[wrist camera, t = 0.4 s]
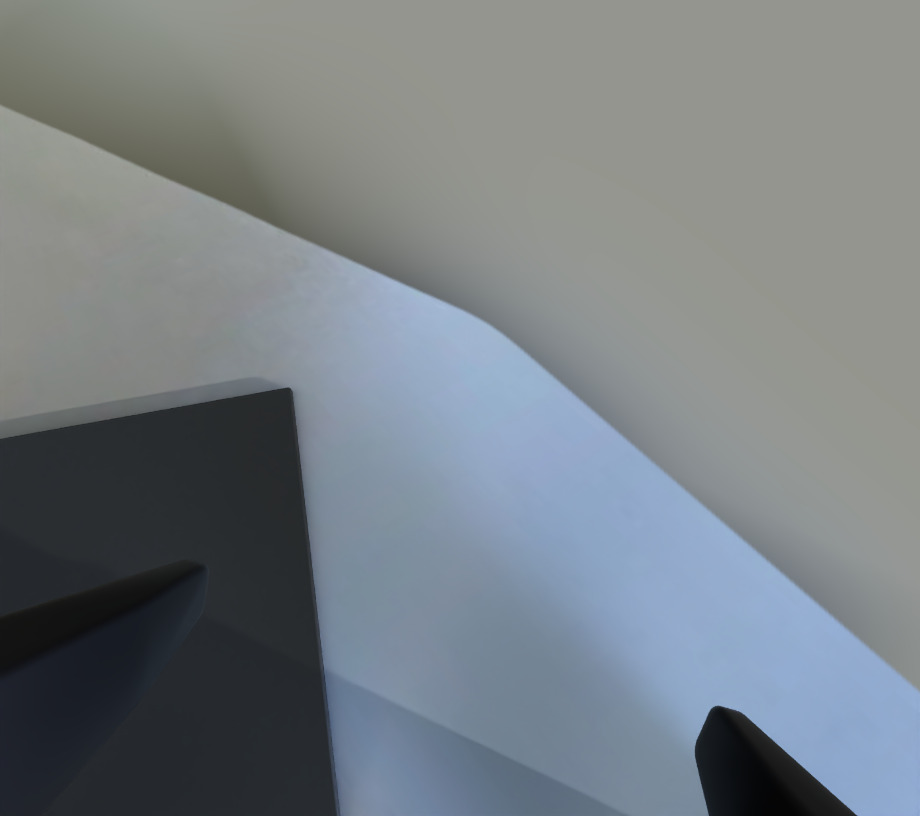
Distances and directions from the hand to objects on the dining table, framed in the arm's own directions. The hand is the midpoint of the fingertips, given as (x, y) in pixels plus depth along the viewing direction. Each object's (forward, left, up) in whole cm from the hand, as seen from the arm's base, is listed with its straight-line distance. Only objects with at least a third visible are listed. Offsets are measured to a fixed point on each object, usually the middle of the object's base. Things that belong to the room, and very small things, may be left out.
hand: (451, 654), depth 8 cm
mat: (+2, +15, -15) cm, 21 cm away
